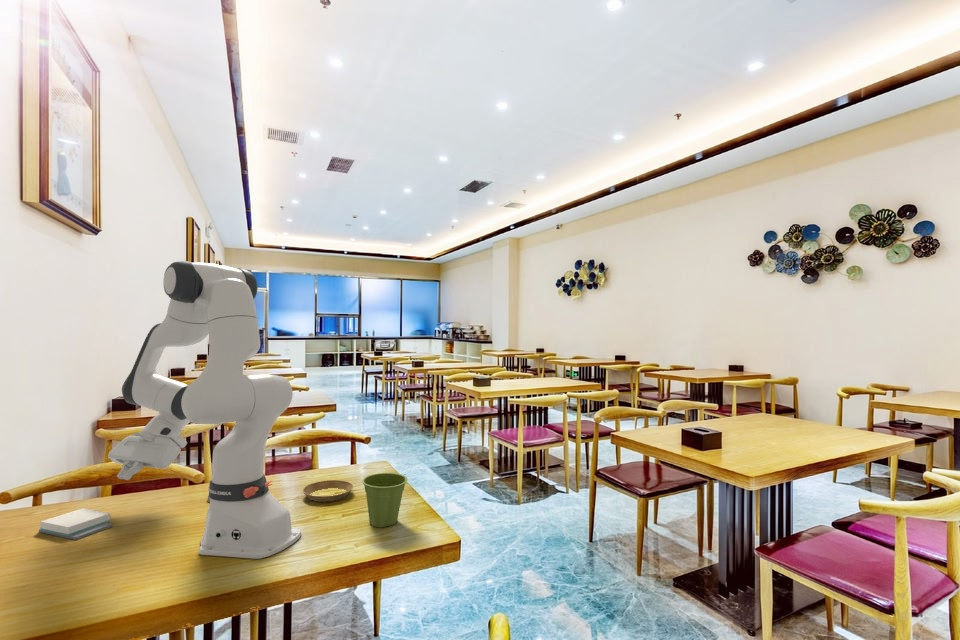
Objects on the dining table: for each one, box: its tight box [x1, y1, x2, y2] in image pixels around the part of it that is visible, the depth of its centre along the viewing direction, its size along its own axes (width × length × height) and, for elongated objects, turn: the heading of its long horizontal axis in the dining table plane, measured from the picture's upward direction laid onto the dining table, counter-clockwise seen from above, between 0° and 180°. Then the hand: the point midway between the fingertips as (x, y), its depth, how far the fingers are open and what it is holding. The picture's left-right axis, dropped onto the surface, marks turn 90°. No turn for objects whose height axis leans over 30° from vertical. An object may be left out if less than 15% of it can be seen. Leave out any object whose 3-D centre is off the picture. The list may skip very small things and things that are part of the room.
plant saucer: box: [302, 479, 354, 503], centre depth 137 cm, size 15×15×3 cm
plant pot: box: [361, 472, 408, 528], centre depth 118 cm, size 12×12×11 cm
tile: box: [39, 507, 111, 536], centre depth 111 cm, size 10×2×9 cm
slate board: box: [38, 522, 113, 541], centre depth 110 cm, size 13×8×1 cm, turn 73°
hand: (122, 478), depth 121 cm, fingers closed
